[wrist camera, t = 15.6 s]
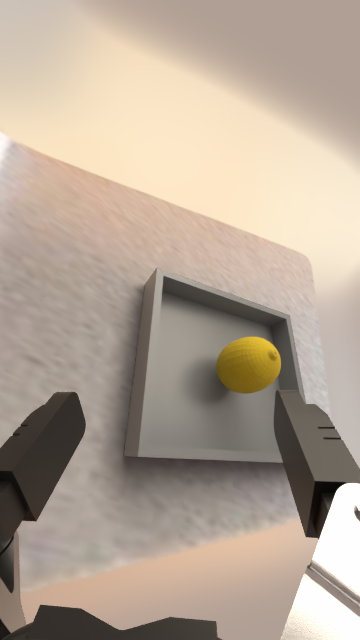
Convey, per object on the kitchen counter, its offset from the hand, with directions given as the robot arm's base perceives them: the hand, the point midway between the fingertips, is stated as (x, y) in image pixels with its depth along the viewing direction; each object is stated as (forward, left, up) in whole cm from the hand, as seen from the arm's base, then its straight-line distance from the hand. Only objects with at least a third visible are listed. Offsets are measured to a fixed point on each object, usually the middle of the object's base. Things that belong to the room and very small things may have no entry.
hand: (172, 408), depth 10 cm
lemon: (-7, +13, -14) cm, 20 cm away
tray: (-7, +13, -15) cm, 21 cm away
